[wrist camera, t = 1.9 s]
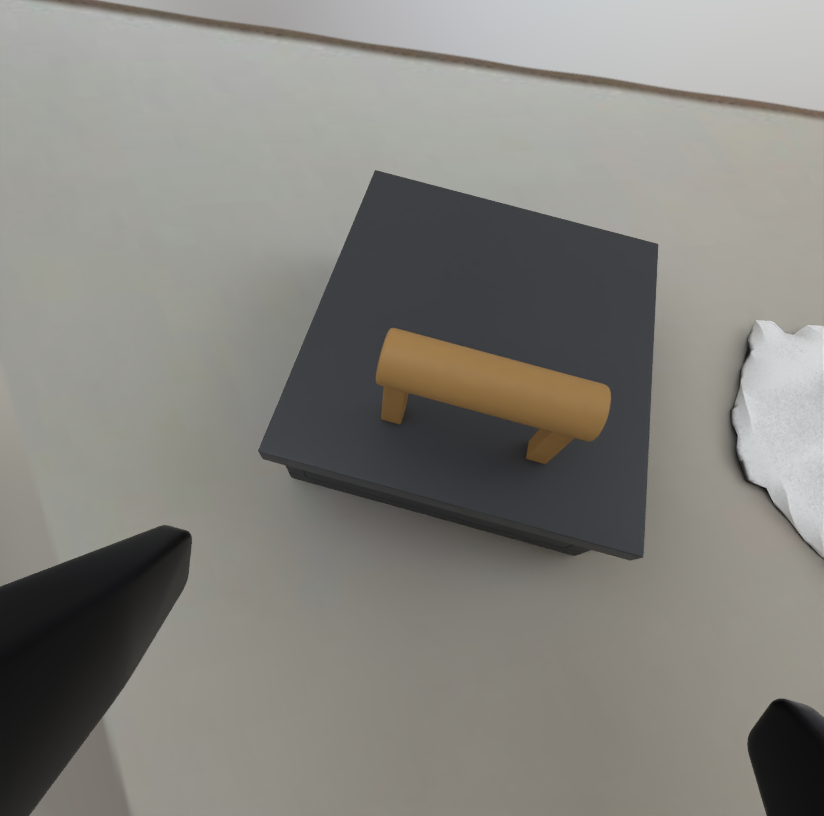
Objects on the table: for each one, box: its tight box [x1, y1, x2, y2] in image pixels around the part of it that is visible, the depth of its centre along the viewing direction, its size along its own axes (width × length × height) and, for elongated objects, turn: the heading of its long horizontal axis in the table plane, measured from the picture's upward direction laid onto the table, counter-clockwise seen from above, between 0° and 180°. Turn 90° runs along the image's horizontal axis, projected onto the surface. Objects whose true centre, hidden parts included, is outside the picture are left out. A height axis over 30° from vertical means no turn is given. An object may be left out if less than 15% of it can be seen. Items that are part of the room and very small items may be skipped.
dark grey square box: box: [286, 465, 591, 556], centre depth 21 cm, size 13×13×5 cm
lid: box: [258, 170, 658, 560], centre depth 17 cm, size 13×13×5 cm
